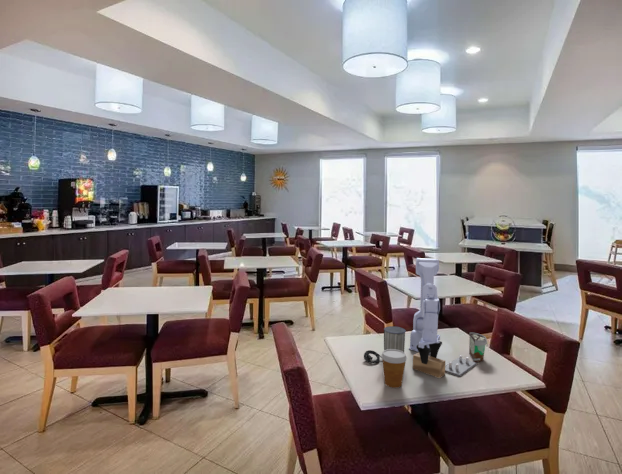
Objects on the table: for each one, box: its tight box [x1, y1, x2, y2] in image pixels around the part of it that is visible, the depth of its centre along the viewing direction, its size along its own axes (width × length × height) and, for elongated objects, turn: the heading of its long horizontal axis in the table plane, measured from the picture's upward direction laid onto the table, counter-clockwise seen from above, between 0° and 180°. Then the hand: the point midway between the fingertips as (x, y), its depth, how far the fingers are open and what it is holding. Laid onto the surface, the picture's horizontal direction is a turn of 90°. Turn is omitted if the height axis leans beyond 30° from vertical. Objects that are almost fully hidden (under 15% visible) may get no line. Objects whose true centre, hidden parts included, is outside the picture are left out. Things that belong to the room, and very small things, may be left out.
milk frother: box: [363, 325, 407, 364], centre depth 166 cm, size 14×16×15 cm
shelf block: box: [412, 352, 446, 379], centre depth 158 cm, size 4×12×6 cm, turn 43°
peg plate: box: [445, 354, 478, 378], centre depth 162 cm, size 8×17×3 cm, turn 136°
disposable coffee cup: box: [380, 349, 408, 389], centre depth 146 cm, size 10×10×12 cm
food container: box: [468, 331, 488, 363], centre depth 172 cm, size 12×6×10 cm, turn 168°
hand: (428, 360), depth 158 cm, fingers open, 7 cm apart
